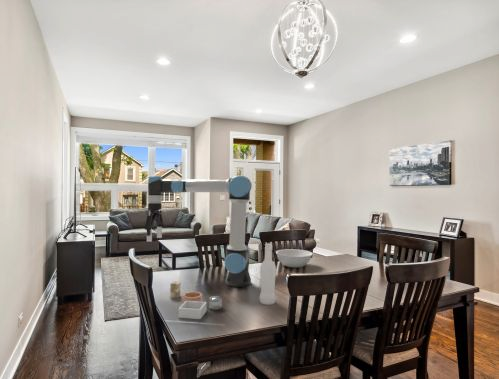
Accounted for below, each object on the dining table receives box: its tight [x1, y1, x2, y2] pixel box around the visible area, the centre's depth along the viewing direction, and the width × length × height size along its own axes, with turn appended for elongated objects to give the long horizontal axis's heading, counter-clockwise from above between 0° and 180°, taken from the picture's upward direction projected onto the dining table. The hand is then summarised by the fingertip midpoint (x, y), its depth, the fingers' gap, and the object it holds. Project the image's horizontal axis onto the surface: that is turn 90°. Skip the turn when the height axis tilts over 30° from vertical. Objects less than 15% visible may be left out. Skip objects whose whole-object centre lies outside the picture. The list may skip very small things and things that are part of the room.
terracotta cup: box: [181, 291, 203, 305], centre depth 165 cm, size 9×9×6 cm
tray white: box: [178, 301, 208, 320], centre depth 153 cm, size 10×10×5 cm
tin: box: [208, 295, 223, 311], centre depth 161 cm, size 6×6×5 cm
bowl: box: [275, 248, 314, 269], centre depth 250 cm, size 27×27×10 cm
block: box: [169, 281, 181, 299], centre depth 176 cm, size 4×4×8 cm
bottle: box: [259, 242, 277, 306], centre depth 171 cm, size 8×8×30 cm
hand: (154, 239), depth 194 cm, fingers open, 13 cm apart
